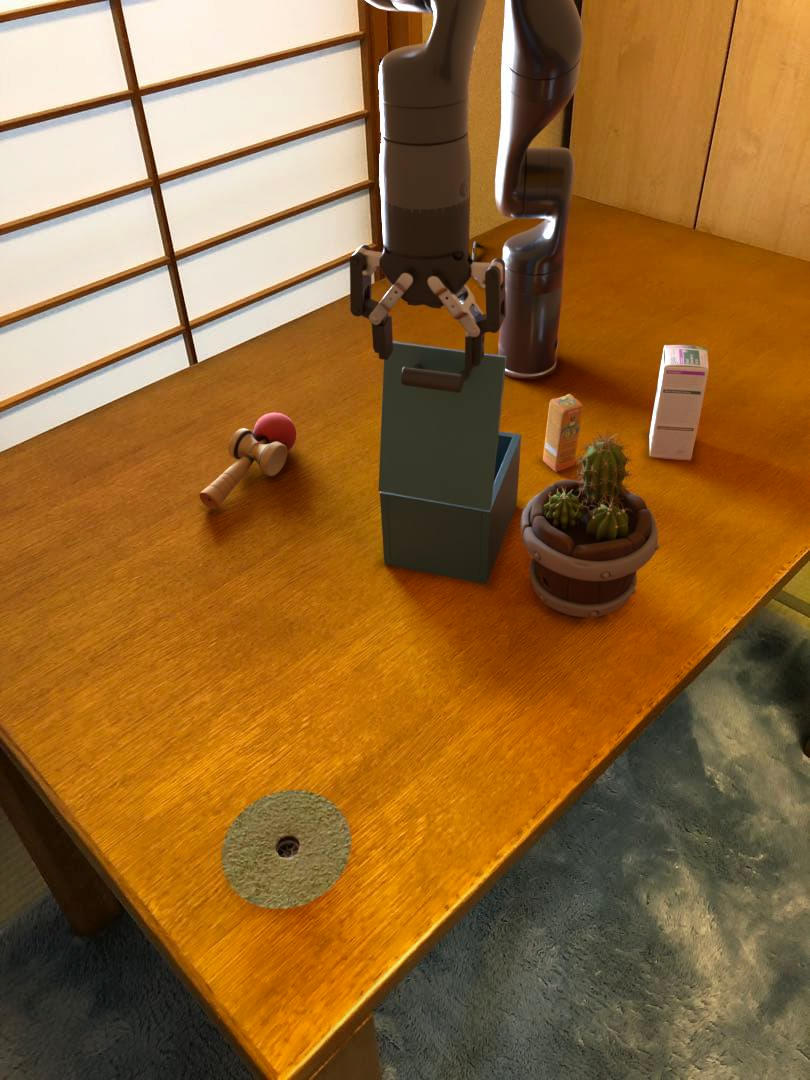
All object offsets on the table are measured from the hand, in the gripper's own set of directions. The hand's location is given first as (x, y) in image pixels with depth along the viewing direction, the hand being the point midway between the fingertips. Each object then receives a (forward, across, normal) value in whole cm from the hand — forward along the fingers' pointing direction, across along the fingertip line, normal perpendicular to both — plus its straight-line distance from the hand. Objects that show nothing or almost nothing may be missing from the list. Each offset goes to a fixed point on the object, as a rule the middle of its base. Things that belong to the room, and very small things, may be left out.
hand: (427, 361), depth 84 cm
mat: (+30, +2, +37) cm, 47 cm away
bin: (+29, 0, -10) cm, 31 cm away
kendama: (+30, +30, -14) cm, 44 cm away
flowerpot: (+30, -17, -4) cm, 34 cm away
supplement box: (+30, -10, -28) cm, 42 cm away
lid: (+10, 0, -4) cm, 11 cm away
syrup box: (+30, -24, -36) cm, 52 cm away
